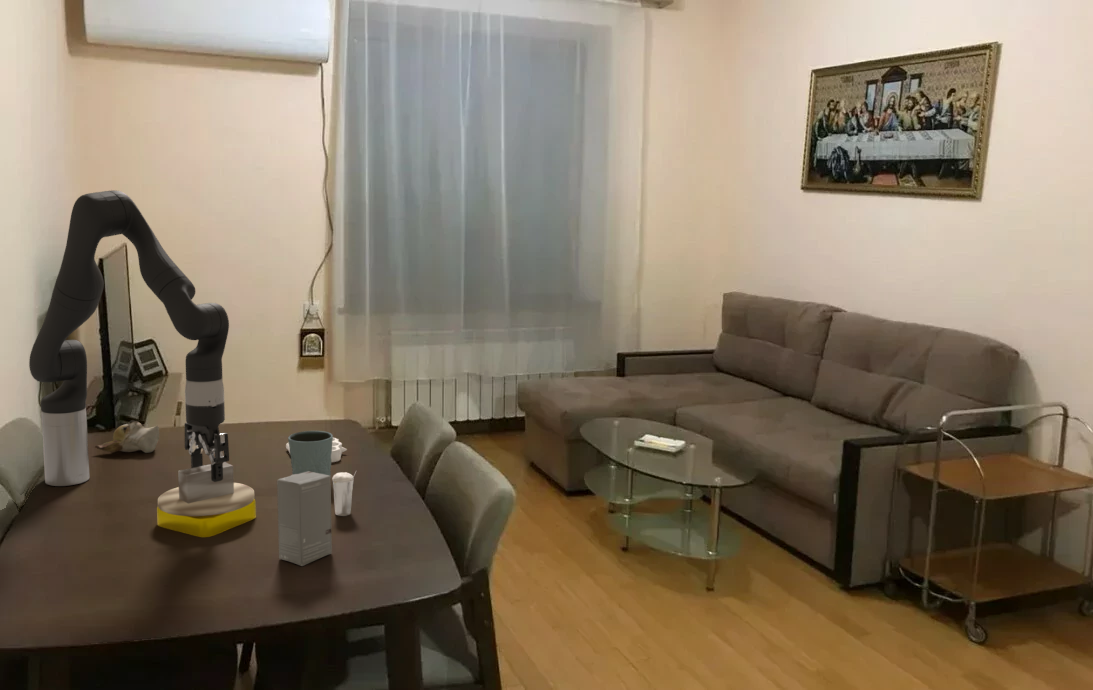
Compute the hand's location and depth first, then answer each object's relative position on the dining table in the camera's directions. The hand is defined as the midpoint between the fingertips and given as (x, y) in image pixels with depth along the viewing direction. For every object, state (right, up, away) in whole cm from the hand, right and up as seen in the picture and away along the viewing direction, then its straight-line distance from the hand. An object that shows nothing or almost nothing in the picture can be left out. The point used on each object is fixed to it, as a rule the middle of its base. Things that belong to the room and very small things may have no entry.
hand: (207, 476), depth 188 cm
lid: (0, -5, +1) cm, 5 cm away
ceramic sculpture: (-38, -1, +49) cm, 62 cm away
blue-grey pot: (+15, -6, +27) cm, 31 cm away
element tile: (-1, -10, +2) cm, 10 cm away
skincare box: (+25, -13, -15) cm, 32 cm away
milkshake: (+27, -10, +8) cm, 30 cm away
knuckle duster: (+10, -2, +52) cm, 53 cm away
